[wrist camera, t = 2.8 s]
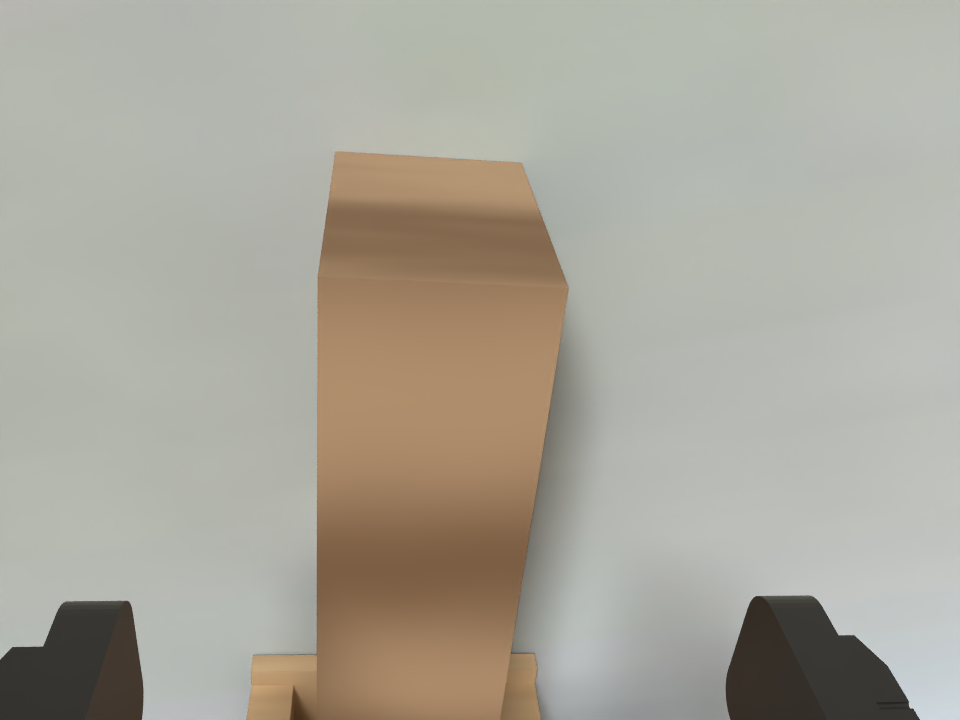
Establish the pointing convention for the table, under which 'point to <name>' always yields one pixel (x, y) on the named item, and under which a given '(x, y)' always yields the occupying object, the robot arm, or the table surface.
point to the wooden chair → (293, 688)
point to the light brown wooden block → (428, 430)
